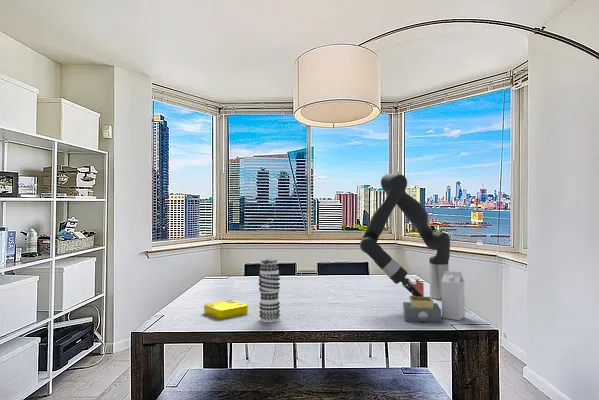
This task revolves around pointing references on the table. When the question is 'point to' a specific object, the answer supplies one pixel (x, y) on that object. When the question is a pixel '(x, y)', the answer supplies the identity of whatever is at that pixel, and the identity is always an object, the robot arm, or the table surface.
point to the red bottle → (418, 287)
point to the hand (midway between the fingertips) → (422, 298)
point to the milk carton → (453, 295)
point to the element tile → (225, 309)
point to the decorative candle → (269, 290)
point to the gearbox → (421, 310)
